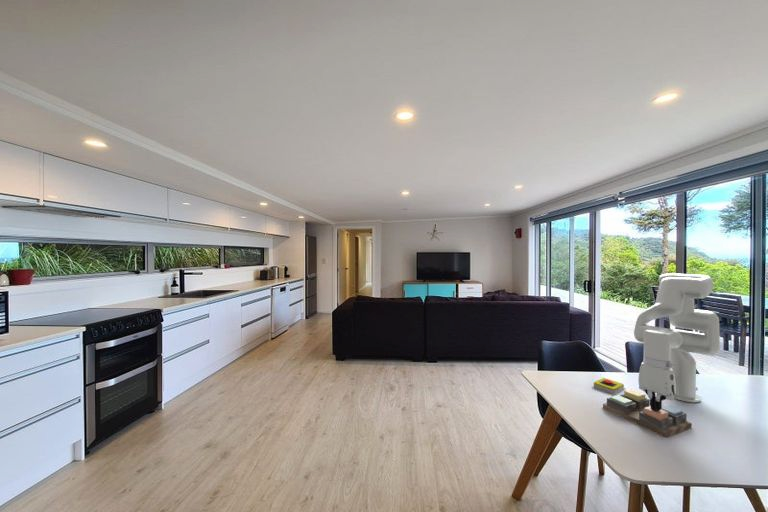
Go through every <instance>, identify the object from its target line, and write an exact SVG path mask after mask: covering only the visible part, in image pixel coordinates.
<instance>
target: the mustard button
mask: <svg viewBox="0 0 768 512" xmlns="http://www.w3.org/2000/svg"><path fill="white" fill-rule="evenodd" d="M623 391H624V393H623V394H624V396H626V397H629V398H631V399H634V400H636V401H642V400H645V398H646V393H645V392H640V391H638V390H636V389H633V388H630V389H627V390H626V389H625V390H623Z"/></svg>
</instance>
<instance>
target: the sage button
mask: <svg viewBox="0 0 768 512" xmlns="http://www.w3.org/2000/svg"><path fill="white" fill-rule="evenodd" d="M611 400H613V401H616V402H618V403H620V404H623V405H628V404H631V403H632V400H629V399H627V398H624V397H622V396H620V395H619V394H618V395H613V396H611Z"/></svg>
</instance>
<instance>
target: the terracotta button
mask: <svg viewBox="0 0 768 512" xmlns="http://www.w3.org/2000/svg"><path fill="white" fill-rule="evenodd" d="M644 414H646V415H649V416H651V417H653V418H656V419H658V420H660V421H662V420H665V419H668V412H667V411H664V410H662V409H661V410H659V411H654V410H652V409H651V406H649V407H645V408H644Z"/></svg>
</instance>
